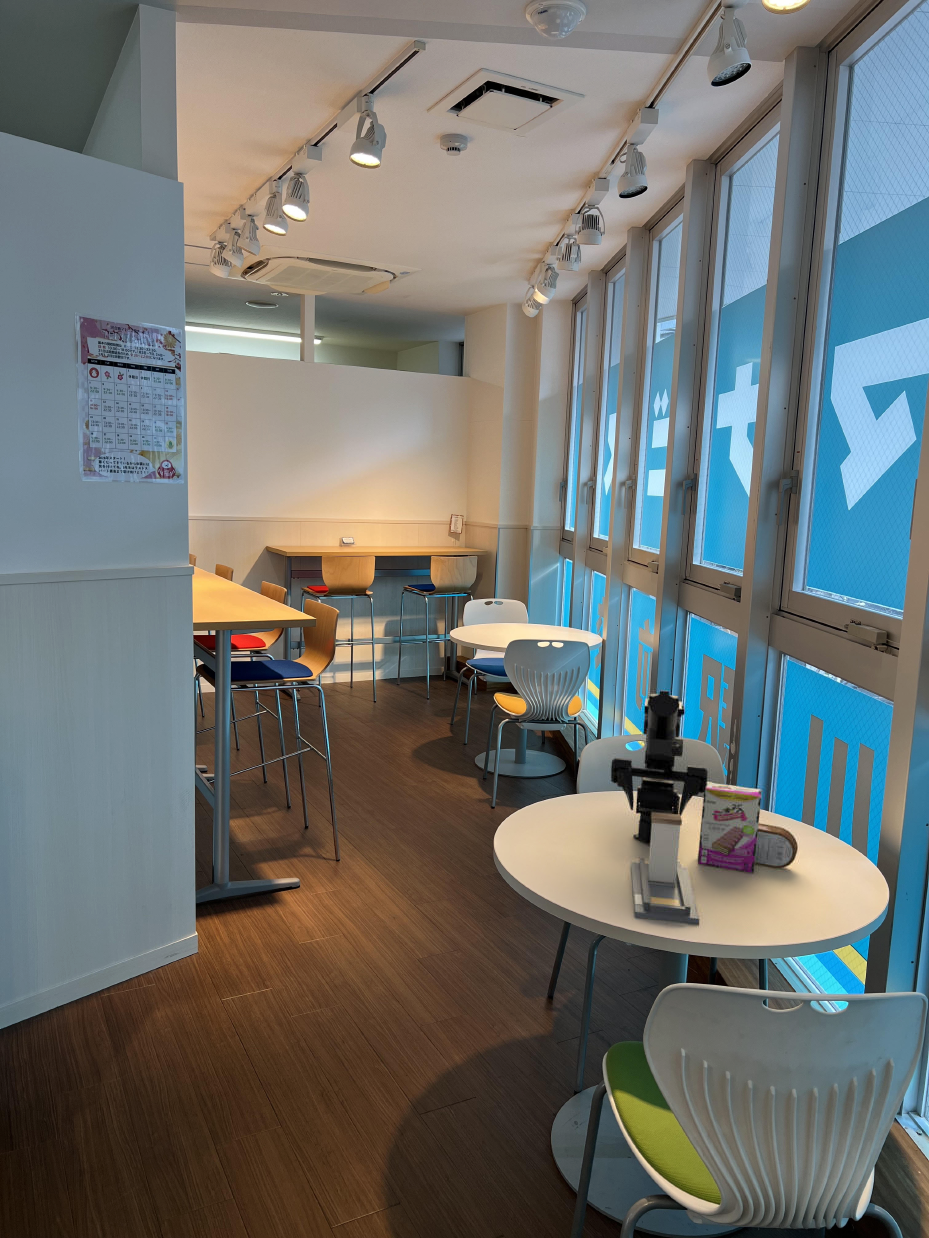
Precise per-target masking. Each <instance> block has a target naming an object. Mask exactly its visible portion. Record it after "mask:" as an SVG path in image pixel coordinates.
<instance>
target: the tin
mask: <svg viewBox="0 0 929 1238" xmlns="http://www.w3.org/2000/svg"><path fill="white" fill-rule="evenodd" d="M798 848H799V847H798V842H797V840H796V838H795V835H794V834H792V833H791V832H790V831H789V830H787V829H785V827H781V826H776V825H771V824H765V823H760V822H759V824H758V835H757V844H756V855H755V864H754V865H758V866H763V867H768V868H773V869H784V868H786V867H788V866H790V865H791V864H793V862H794V861H795V859H796V856H797V853H798V850H799V849H798Z"/></svg>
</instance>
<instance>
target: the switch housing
mask: <svg viewBox="0 0 929 1238" xmlns="http://www.w3.org/2000/svg"><path fill="white" fill-rule="evenodd" d="M645 860H646V858H645V857H638V862H636V861H635V862H634V861H631V862H630V874H631V876H630V877H631V885H632V886H631V887H632V898H633V913H634V918H640V919H649V920H656V921H657V920H658V921H666V922H675V923H682V924H683V923H685V924H693V925H694V924H695V925H700V916H699V915H700V914H699V911H698V907H697V904H696V899H695V896H694V894H695V893H694V891H693V886H692V882H691V879H690V875H689V869H688V867H686V866H682V863H681V861H679V860H678V861H677V874H676V883H668V882H659V881H649V878H648V870H649V863H646V861H645Z"/></svg>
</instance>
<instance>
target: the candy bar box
mask: <svg viewBox="0 0 929 1238" xmlns="http://www.w3.org/2000/svg"><path fill="white" fill-rule="evenodd" d="M702 801H703V802H702V809H701V820H700V830H699V832H700V833H699V841H698V853H697V855H698V856H697V864H698V865H701V866H708V867H713V868H719V869H720V868H721V869H726V870H732V871H736V872H743V873H744V872H745V873H749V874H754V872H755V871H754V870H755V865H756V864H755V855H756V844H757V835H758V824H759V823H760V822H759V821H760V813H761V812H760V811H761V806H762V805H761V802H762V790H761V789H759V788H751V787H745V786H738V785H733V784H732V785H731V784H730V785H729V784H726V783H725V784H724V783H717V782H711V781H707V784H706V790H705V792H703V799H702Z"/></svg>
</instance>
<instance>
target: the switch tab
mask: <svg viewBox="0 0 929 1238" xmlns="http://www.w3.org/2000/svg"><path fill="white" fill-rule="evenodd" d="M651 819H652V829H651V842H650V844H649V859H648V864H649V870H648V878H649V881H659V882H668V883H676V874H677V861H679V860H678V859H679V858H678V856H679V847H680V834H681V832H680V831H681V826H682V822H683V820H682V815H679V814H678V815H676V814H665V813H655V812H651Z"/></svg>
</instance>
